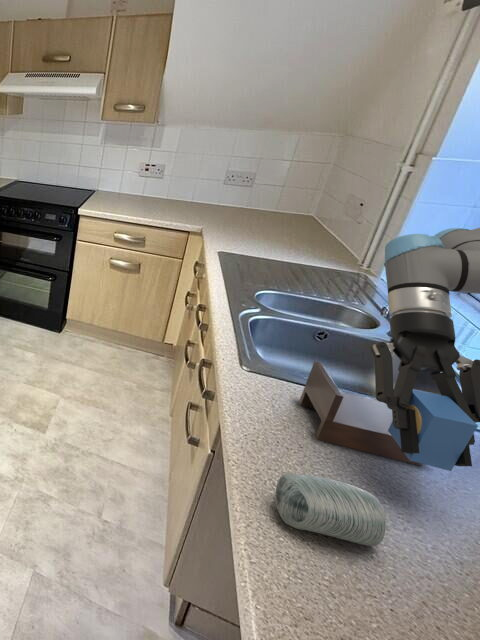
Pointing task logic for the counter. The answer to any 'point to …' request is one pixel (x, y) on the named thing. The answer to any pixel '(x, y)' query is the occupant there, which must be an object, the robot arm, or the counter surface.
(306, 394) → the shelf
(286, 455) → the counter surface
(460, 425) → the box
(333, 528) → the spool
